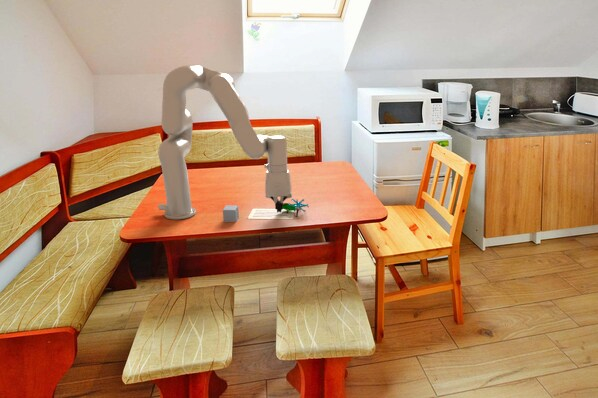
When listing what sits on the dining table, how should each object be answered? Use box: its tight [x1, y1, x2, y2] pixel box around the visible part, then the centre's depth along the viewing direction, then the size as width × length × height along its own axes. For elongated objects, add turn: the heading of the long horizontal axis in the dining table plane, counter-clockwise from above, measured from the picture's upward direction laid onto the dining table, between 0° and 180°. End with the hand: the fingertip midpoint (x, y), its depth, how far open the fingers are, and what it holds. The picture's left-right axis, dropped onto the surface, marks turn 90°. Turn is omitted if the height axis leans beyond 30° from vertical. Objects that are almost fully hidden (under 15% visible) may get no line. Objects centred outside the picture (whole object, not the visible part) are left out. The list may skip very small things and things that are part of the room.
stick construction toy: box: [283, 198, 309, 218], centre depth 171 cm, size 12×7×8 cm
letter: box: [247, 208, 296, 220], centre depth 172 cm, size 18×11×1 cm, turn 85°
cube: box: [222, 204, 240, 223], centre depth 167 cm, size 5×5×5 cm
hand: (279, 210), depth 172 cm, fingers closed
